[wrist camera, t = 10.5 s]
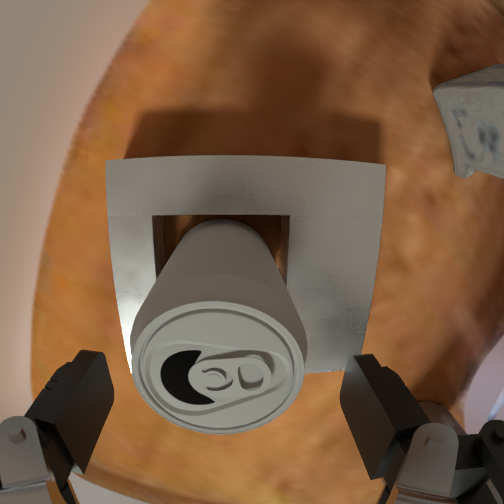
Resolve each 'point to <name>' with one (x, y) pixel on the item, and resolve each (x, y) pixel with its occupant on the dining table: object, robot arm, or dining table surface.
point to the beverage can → (219, 334)
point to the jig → (260, 203)
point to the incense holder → (475, 120)
